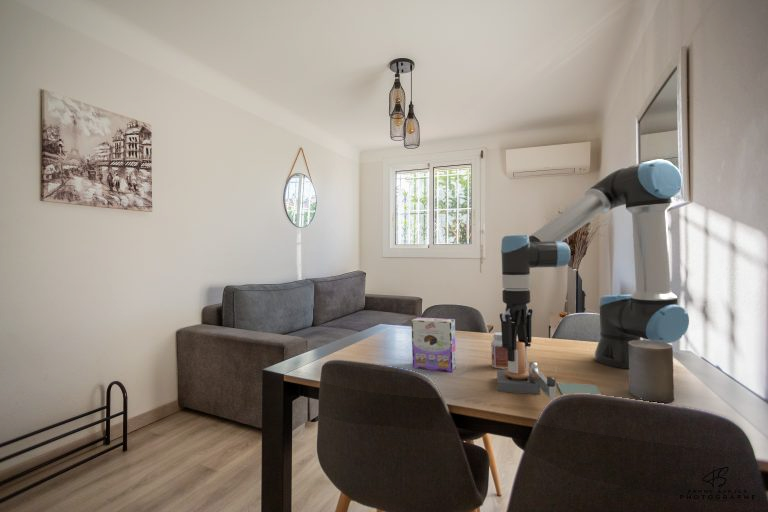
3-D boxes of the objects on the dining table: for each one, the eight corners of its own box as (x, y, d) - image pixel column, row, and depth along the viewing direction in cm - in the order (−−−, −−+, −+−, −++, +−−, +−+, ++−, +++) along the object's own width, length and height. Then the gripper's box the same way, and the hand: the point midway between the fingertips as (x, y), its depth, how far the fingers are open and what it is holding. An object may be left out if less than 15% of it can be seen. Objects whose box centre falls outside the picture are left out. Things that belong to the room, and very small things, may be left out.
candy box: (456, 367, 127) (455, 318, 127) (452, 372, 122) (451, 321, 121) (417, 363, 133) (416, 316, 133) (411, 368, 127) (410, 319, 127)
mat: (595, 386, 107) (595, 385, 107) (605, 400, 97) (605, 398, 97) (556, 383, 110) (556, 382, 110) (562, 396, 100) (562, 395, 100)
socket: (535, 380, 113) (535, 372, 113) (540, 394, 102) (540, 385, 102) (497, 378, 116) (497, 369, 116) (497, 391, 105) (497, 382, 105)
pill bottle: (515, 367, 126) (514, 333, 126) (502, 370, 123) (502, 336, 123) (500, 362, 131) (499, 330, 131) (487, 366, 128) (487, 333, 128)
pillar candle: (680, 396, 99) (678, 339, 99) (665, 406, 93) (664, 345, 93) (638, 386, 107) (636, 333, 107) (622, 394, 101) (621, 338, 101)
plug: (529, 381, 111) (529, 340, 111) (532, 389, 105) (531, 346, 104) (504, 379, 113) (504, 339, 113) (505, 387, 107) (504, 345, 106)
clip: (528, 380, 105) (528, 359, 105) (536, 380, 105) (536, 359, 105) (547, 403, 89) (547, 379, 89) (557, 403, 89) (557, 379, 89)
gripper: (520, 286, 117) (521, 361, 117) (487, 290, 106) (488, 373, 106) (543, 287, 111) (545, 366, 111) (510, 292, 100) (512, 380, 101)
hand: (517, 370), depth 109 cm, fingers closed on plug, 4 cm apart
